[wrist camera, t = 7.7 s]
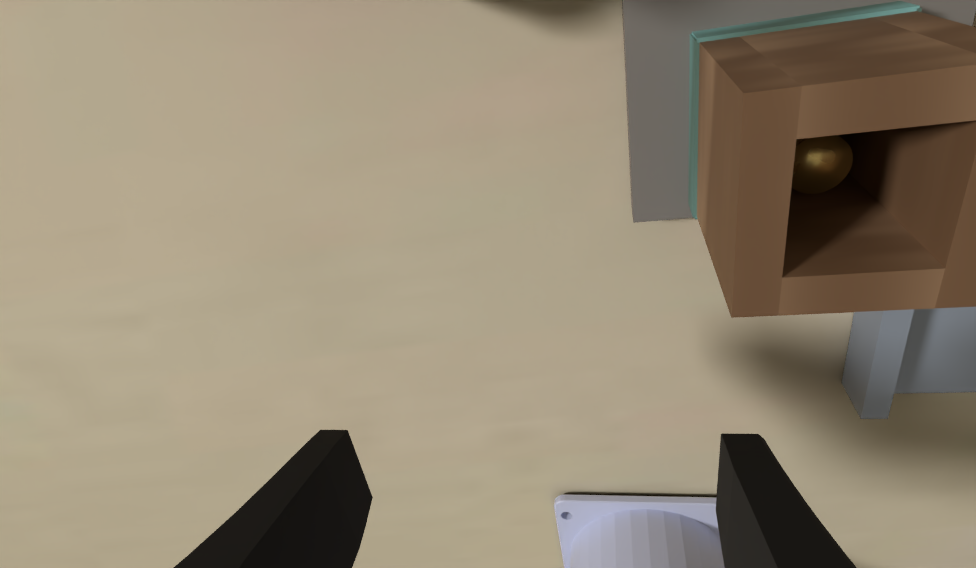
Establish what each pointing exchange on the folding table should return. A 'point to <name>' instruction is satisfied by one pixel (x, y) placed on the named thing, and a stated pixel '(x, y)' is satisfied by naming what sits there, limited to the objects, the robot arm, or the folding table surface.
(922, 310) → the tray
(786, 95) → the walnut sleeve
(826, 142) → the brass pin
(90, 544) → the folding table surface
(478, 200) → the folding table surface
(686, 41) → the pin board
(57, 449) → the folding table surface
